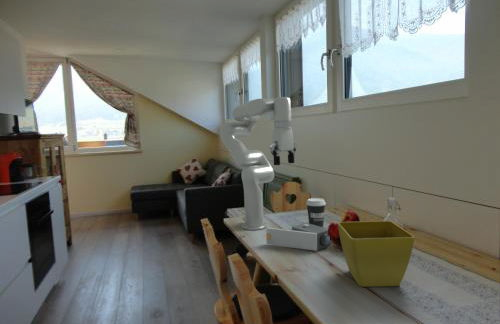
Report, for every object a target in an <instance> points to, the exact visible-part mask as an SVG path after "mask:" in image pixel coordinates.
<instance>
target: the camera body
mask: <svg viewBox="0 0 500 324" xmlns="http://www.w3.org/2000/svg"><path fill="white" fill-rule="evenodd" d="M328 229H329V228H327V227H324V226H323V227H320V226H316V225H312V224H309V222H304V223H301V224H297V225H293V226H291V230H293V231H302V232H310V233H317V251H319V250H323V249H325V248H327V247H330V246H331V245H332V239H331V240H330V236H329V235H328Z"/></svg>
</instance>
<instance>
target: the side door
mask: <svg viewBox="0 0 500 324" xmlns="http://www.w3.org/2000/svg"><path fill="white" fill-rule="evenodd" d="M265 229H266V230H265V231H266V235H265V236H266V244H267V245H272V246H273V245H274V246H281V247H285V248H286V247H287V248H292V249H293V248H295V249H301V250H307V251H308V250H309V251H315V252H317V251H318V250H317V233H310V232H302V231H293V230H292V229H283V228H275V227H274V228H273V227H266V228H265Z"/></svg>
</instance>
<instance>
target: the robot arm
mask: <svg viewBox="0 0 500 324" xmlns="http://www.w3.org/2000/svg"><path fill="white" fill-rule="evenodd" d="M291 100H292V99H291V98H290V97H288V96H280V97H274V98H255V99H252V100H249V101H247V103H244V104H240V105H236V106H235V107H234V108H233V110H232V111H231V116H232V118H233V119H234V120H235V121H229V122H224V123H223V124H222V125H220V129H219V135H220V139H221V141H222V144H223V145H224V146H225V148H226V149H227V150H228V152H229V153H230V155H231V157H232V159H234V162H235V163H236V165H237V167H238V168H240V169H242V170H241V180H242V184H243V185H242V187H243V197H244V199H243V201H244V204H243V205H244V217H242V218H241V220H242V221H243V222H244V223H242V225H241V227H242V228H243V229H245V230H247V231H248V230H249V231H259V230H263V229H266V228H268V227H267V226H268V225H267V223H266V222H264V198H263V197H264V195H263V190H262V189H261V187H260V185H261V184H267V183H271V182H272V181H273V180H274V178H275V172H274V171H275V170H274V168H273V166H281V157H280V155H281V152H287V153H288V154H287V163H288V164H295V154H296V151H297V146H298V145H297V143H296V142H295V141H294V133H293V129H292V107H291V106H292V104H291V103H292V101H291ZM260 116H273V123H274V124H273V125H274V126H273V127H274V128H273V129H272V137H271V138H272V139H271V141H272V143H271V145H270V146H269V150H270V152H271V156H272V157H273V166H272V165H271V163H270V161H269V160H268V159H267V157H266V155H265V154H264V153H263V152H262V151H261V150H259V149H252V150H251V149H248V148H246V146H245V144H244V143H243V142H242V141H241V140H239V138H246V137H249V136H251V134H252V132H253V130H254V129H255V127H256V125H257V123H258V120H259V119H260Z"/></svg>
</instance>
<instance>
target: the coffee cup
mask: <svg viewBox="0 0 500 324" xmlns="http://www.w3.org/2000/svg"><path fill="white" fill-rule="evenodd" d="M326 203H327V202H326V201H325V199H324V198H319V197H311V198H308V199H307V201H306V203H305V205H306V207H307V217H308V223H309V224H312V225H316V226H320V227H324V221H325V207H326V205H327V204H326Z"/></svg>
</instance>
